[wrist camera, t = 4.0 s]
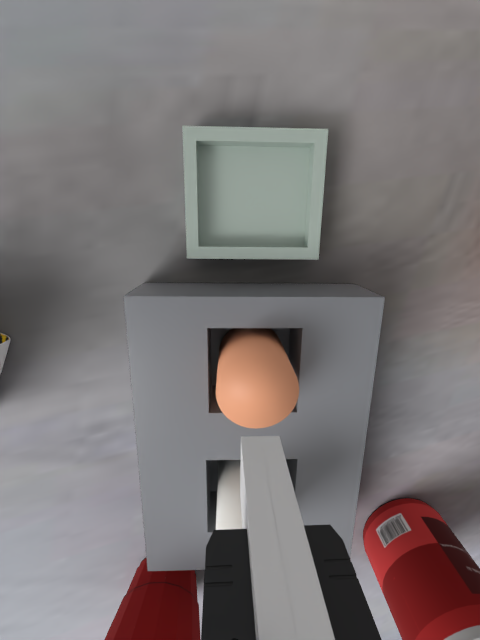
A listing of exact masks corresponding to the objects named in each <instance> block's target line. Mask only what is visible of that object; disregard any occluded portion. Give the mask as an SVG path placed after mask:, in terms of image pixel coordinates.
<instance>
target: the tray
mask: <svg viewBox="0 0 480 640" xmlns="http://www.w3.org/2000/svg"><path fill="white" fill-rule="evenodd" d="M182 129H183V159H184V189H185V219H186V249H187V259H305V260H319V247H320V234H321V220H322V207H323V194H324V181H325V167H326V154H327V141H328V129H310V128H264V127H218V126H182Z"/></svg>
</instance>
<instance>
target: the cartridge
mask: <svg viewBox="0 0 480 640" xmlns="http://www.w3.org/2000/svg"><path fill="white" fill-rule="evenodd" d="M240 464H241V460H219V464H218V487H217V510H216V530H226V529H242V515H241V500H240Z"/></svg>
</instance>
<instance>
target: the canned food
mask: <svg viewBox="0 0 480 640" xmlns="http://www.w3.org/2000/svg"><path fill="white" fill-rule="evenodd" d="M363 540H364V547H365V551H366V553H367V556H368V558H369V561H370V563H371V565H372V568H373V570H374V572H375V575H376V577H377V580H378V582H379V584H380V587H381V589H382V592H383V594H384V596H385V599H386V601H387V604H388V606H389V608H390V611H391V613H392V616H393V618H394V620H395V623H396V625H397V628H398V630H399V632H400V635H401V637H402V640H480V568H479V567H478V566H477V564H476V563H475V562H474V560H473V559H472V558H471V556H470V555H469V554H468V552H467V551H466V550H465V548H464V547H463V546H462V544H461V543H460V541H459V540H458V539H457V537H456V536H455V535H454V533H453V532H452V531H451V529H450V528H449V527H448V525H447V524H446V523H445V521H444V520H443V519H442V517H441V516H440V514H439V513H438V512H437V511H436V510H434V509H433V508H432V507H431V506H429V505H428V504H427V503H425V502H423V501H421V500H417V499H410V498H405V499H398V500H394V501H391V502H388V503H386V504H384V505H383V506H381V507H379V508H378V509H377V510H376V511H375V512H373V513H372V515H371V516H370V517H369V518H368V520H367V522H366V524H365V527H364V530H363Z"/></svg>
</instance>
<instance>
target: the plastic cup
mask: <svg viewBox="0 0 480 640" xmlns="http://www.w3.org/2000/svg"><path fill="white" fill-rule="evenodd" d="M105 640H200V623H199V604H198V602H197V584H196V574H195V570H177V571H148V569H147V558H145V559H144V560H143V561H142V562H141V564H140V566H139V567H138V568H137V570H136V573H135V575H134V577H133V580H132V582H131V585H130V587H129V589H128V592H127V594H126V595H125V596H124V598H123V600H122V602H121V605H120V607H119V609H118V611H117V613H116V616H115V618H114V620H113V622H112V624H111V627H110V629H109V631H108V633H107V636H106V638H105Z"/></svg>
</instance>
